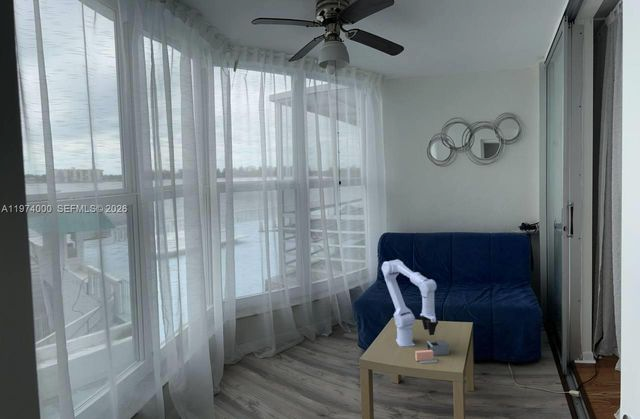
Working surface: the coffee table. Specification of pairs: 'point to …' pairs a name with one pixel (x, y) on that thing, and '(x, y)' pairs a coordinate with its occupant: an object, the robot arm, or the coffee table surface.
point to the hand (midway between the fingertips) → (429, 332)
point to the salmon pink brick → (424, 355)
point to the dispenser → (438, 347)
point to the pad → (429, 361)
